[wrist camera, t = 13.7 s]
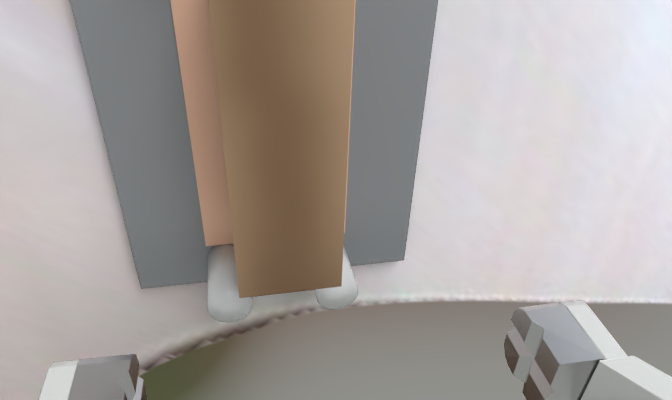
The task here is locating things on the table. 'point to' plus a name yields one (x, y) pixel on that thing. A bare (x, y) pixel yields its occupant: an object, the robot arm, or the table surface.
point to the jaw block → (285, 137)
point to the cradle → (207, 142)
